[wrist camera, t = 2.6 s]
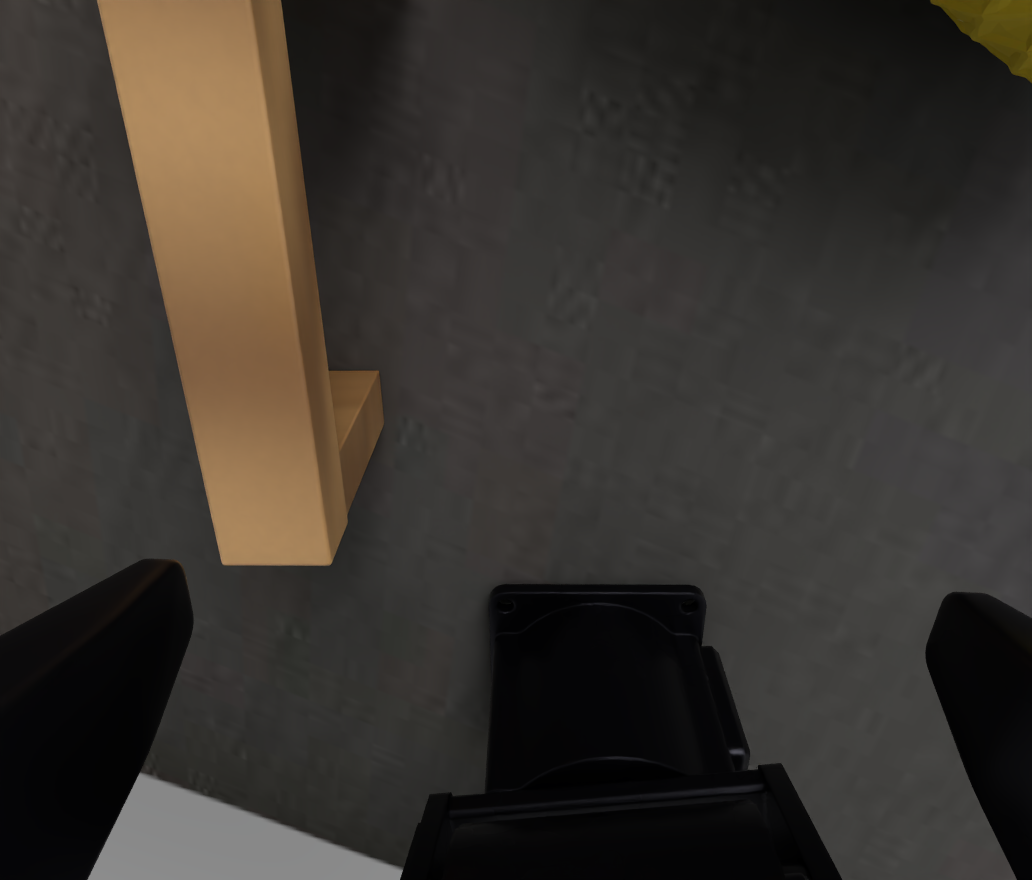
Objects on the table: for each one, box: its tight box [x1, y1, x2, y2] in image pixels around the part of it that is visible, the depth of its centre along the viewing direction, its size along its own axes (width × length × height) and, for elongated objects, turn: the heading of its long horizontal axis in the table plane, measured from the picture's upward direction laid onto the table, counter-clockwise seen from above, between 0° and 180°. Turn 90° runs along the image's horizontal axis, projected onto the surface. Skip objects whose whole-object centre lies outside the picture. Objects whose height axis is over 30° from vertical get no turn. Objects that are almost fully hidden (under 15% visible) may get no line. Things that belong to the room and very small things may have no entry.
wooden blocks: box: [97, 0, 384, 566], centre depth 15 cm, size 15×5×7 cm, turn 1°
